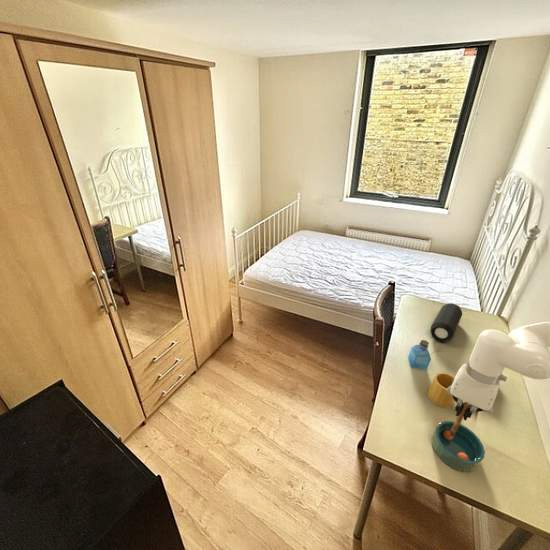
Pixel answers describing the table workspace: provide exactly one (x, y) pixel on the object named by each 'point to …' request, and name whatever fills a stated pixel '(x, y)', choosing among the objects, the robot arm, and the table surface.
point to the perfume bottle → (420, 355)
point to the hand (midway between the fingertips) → (461, 414)
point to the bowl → (458, 447)
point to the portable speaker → (446, 322)
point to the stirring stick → (459, 419)
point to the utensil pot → (441, 390)
